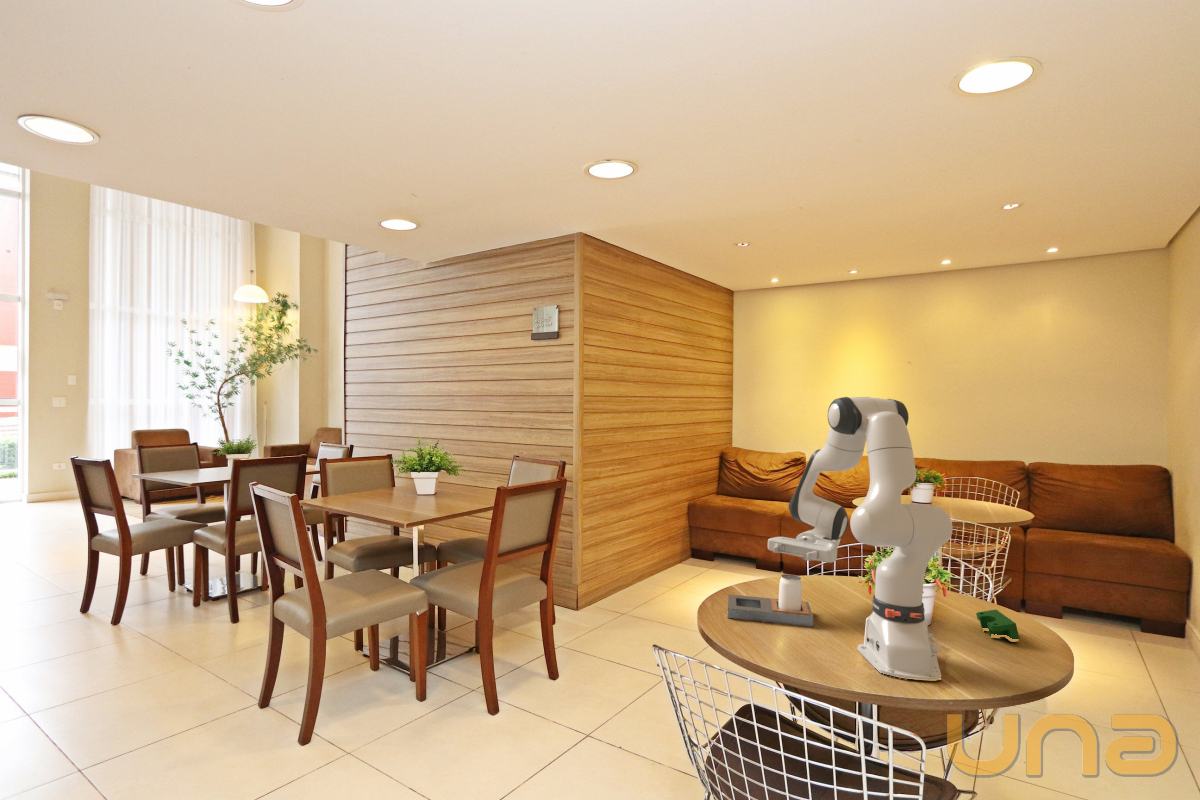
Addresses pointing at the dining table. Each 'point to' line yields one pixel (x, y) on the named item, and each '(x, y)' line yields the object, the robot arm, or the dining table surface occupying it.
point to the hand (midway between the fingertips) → (790, 553)
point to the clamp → (998, 623)
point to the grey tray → (767, 611)
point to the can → (790, 592)
